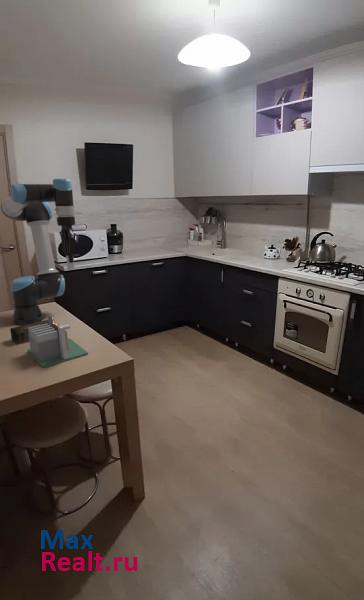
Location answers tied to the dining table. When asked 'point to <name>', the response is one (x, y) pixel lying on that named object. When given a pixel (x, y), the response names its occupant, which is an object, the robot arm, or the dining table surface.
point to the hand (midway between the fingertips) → (71, 269)
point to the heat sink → (52, 345)
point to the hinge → (55, 326)
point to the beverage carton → (23, 332)
